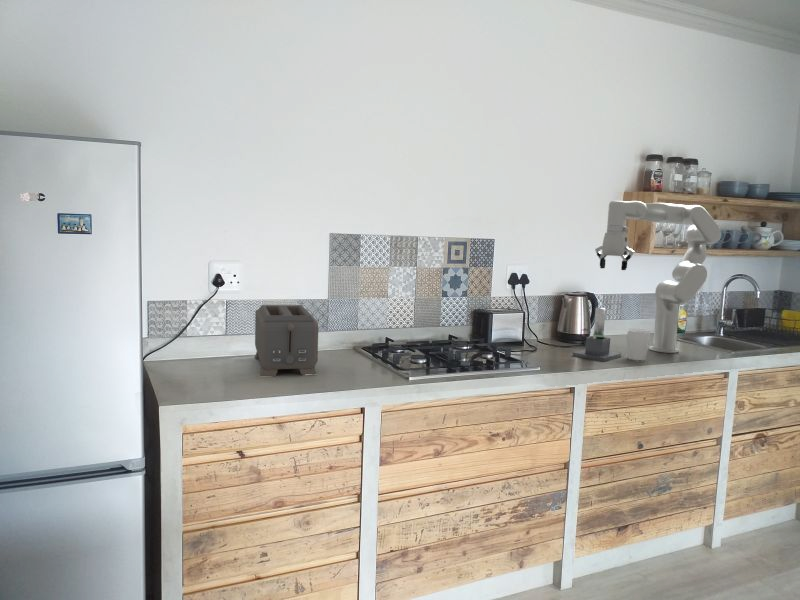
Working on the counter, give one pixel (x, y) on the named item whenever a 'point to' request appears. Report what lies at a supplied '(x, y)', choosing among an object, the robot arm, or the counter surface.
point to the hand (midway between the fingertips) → (612, 269)
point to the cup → (637, 343)
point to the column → (599, 323)
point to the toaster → (285, 339)
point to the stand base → (597, 350)
